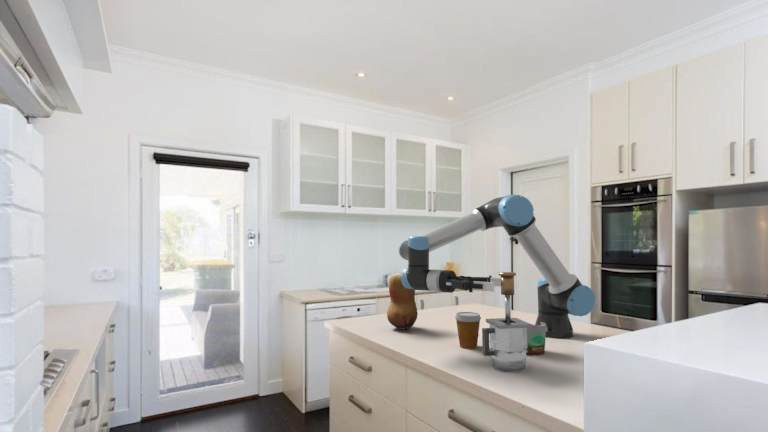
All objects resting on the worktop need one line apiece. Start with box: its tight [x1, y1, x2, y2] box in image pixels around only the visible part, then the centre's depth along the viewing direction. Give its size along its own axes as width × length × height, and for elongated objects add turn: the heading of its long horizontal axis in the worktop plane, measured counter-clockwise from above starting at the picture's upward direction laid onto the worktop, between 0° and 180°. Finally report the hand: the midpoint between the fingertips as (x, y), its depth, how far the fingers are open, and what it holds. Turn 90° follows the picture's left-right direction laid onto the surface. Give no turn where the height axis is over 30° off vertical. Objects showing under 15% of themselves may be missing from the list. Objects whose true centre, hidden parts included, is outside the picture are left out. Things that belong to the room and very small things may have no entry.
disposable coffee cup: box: [454, 311, 482, 350], centre depth 155 cm, size 10×10×12 cm
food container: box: [526, 322, 548, 357], centre depth 145 cm, size 12×6×10 cm, turn 117°
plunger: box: [498, 271, 517, 323], centre depth 132 cm, size 8×8×18 cm
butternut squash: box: [386, 271, 418, 330], centre depth 185 cm, size 14×13×25 cm
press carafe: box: [481, 317, 533, 373], centre depth 131 cm, size 13×10×14 cm
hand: (502, 284), depth 133 cm, fingers open, 13 cm apart
